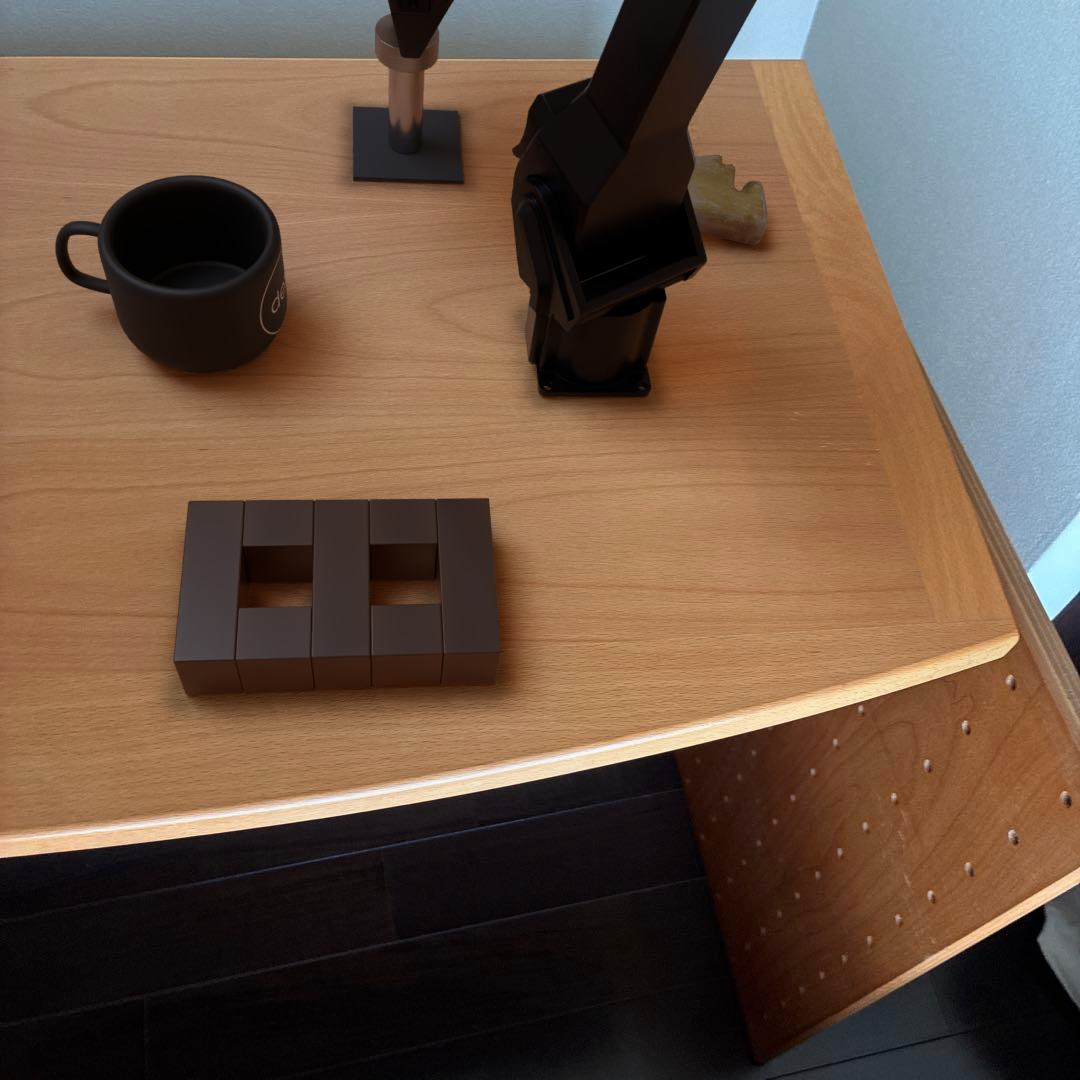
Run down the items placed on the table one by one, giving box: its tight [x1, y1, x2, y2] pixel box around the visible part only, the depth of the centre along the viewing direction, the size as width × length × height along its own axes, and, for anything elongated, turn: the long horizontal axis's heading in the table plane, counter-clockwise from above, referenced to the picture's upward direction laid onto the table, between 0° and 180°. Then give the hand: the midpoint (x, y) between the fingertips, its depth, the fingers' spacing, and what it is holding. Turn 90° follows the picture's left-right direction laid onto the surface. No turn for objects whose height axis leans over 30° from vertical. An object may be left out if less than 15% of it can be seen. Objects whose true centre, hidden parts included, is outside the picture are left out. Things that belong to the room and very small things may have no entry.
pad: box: [352, 105, 465, 185], centre depth 72 cm, size 7×7×1 cm
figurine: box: [688, 154, 769, 246], centre depth 69 cm, size 5×5×15 cm
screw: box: [374, 13, 440, 154], centre depth 68 cm, size 4×4×8 cm
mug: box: [54, 174, 288, 375], centre depth 59 cm, size 12×9×7 cm
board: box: [172, 497, 502, 696], centre depth 52 cm, size 14×8×4 cm, turn 95°
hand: (408, 7), depth 64 cm, fingers open, 9 cm apart
